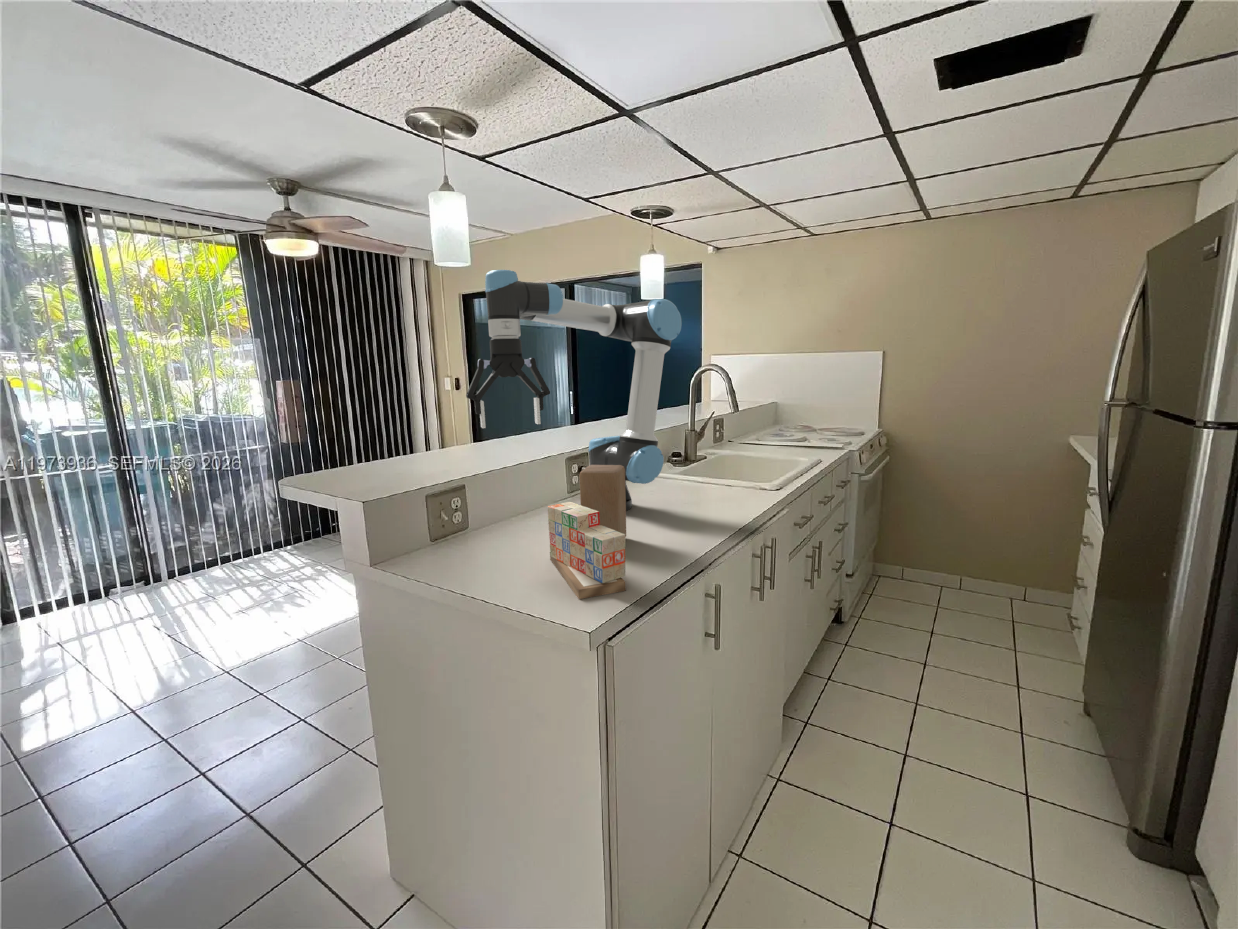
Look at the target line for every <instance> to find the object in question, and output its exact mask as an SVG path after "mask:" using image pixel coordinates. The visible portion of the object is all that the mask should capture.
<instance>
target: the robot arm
mask: <svg viewBox="0 0 1238 929" xmlns="http://www.w3.org/2000/svg"><path fill="white" fill-rule="evenodd" d="M484 281H485V290H484V292H485V297H486V309H487V320H488V321H487V322H488V323H487V324H488V336H489V338H491V339H489V351H490V352H489V353H490V358H489V360H487V359H483V358H479V359H478V360H477V364H476V365H477V367H476V371H475V373H474V375H473V378H472V380H471V383H470V385H469V387H468V390H467V392H466V394H465V398H467V399H470V400H473V401H474V411H475V414H476V415H479V418H480V428H481V429H486V425H487V424H486V415H485V414H486V413H485V402H484V400H482V398H483V397H484V396H485V394H486V392H487V391H488V390H489V388H490V387H491V386H492V385H493V383H494V382H495V380H497V379H498V377H500V378H507V377H509V378H515V377H518V378H520V380H521V381H522V382H523V383H524V384H525V385H526V387H528V388H529V389H530V391H531V392H532V393H533V394H534V395H535V396H536V397H533V409H534V423H535V424H536V425H541V411H544V397H546V396H547V395H548V396H549V395H551V391H550V389H549V387H548V385H547V383H546V381H545V379H544V378H543V376H542V374H541V372H540V371H539V369H538V367H537V362H536V358H534V357H529V358H527V359H526V358H524V357H523V351H522V350H523V347H522V340H521V339H520V337H521V335H522V334H521V332H522V331H521V321H520V320H524V321H531V322H538V323H542V324H543V323H544V324H549V325H555V326H561V327H567V328H573V329H579V330H585V331H592V332H597V333H599V335H600V336H603V337H606V338H607V337H608V338H612V339H617V340H621V341H625V342H631V346H632V347H633V349H634V350H635V353H634V360H633V361H634V362H633V370H632V376H631V377H632V378H631V384H630V391H629V392H630V393H629V402H628V410H627V416H626V426H625V431H624V432H622V433H621V434H619V435H614V436H613V435H612V436H603V437H596V438H592V439H590V440H589V443H588V459H589V460H588V462H589V465H622V466H624V468H625V495H626V511H628V510H630V509H632V507H633V500H632V496H631V494H630V490H629V488H628V485H627V482H630V483H632V484H640V485H641V484H642V485H645V484H650V483H652V482H653V481H654V480H656V478H658V477H659V476H660V474H661V472H662V470H663V466H664V460H665V459H664V454H662V453H663V452H662V450H661V449H660V448H659V447H658V444H659V439H658V438H657V436H656V435H655V429H656V428H655V427H656V421H657V415H658V414H657V412H658V406H659V405H658V404H659V399H660V390H661V385H662V384H661V381H662V375H663V369H664V368H663V366H664V359H665V354H666V353H667V352H669V351H670V349H671V345H672V341H673V340H674V339H677V337H678V336H679V335H680V332H681V331H682V325H683V324H682V315H681V313H680V311H679V310H678V307H677V306H676V305H675V304H674V303H673V302H672V301H671V300H669V299H665V298H659V299H658V298H654V299H651V300H645V301H639V302H632V303H631V302H630V303H626V304H611V303H605V304H603V305H598V304H597V305H596V304H593V303H587V302H582V301H578V300H573V299H567V298H564V296H563V291H562V289H561V288H560V286H559V285H558V284H556V283H549V282H534V281H532V282H531V281H522V280H519V277H518V274H517V272H516V271H515V270H510V269H494V270H493V269H492V270H489V271H488V272H486V274H485V280H484ZM524 365H526V367H527V368H529V369H530V371H531V373H532V375H533V377H534V379H535V380H536V382H537V384H538V386H539V388H540V389H539V388H538V386H537V385H536V384H534V383H533V381H532V380H531V379H530V378H529V377H528V376H527V375H526V373H525V372H524V371H523V370H522V369H523V367H524ZM488 366H490V368H491V369H492V372H491V373H490V375H489V376H488V378H487V379H486V380H485V381H484V383H483V384H482V386H481V387H480V388H479V389H478V391H477V392H476V394H475V391H476V390H477V388H478V384H479V382H480V380H481V378H482V375H483V374H484V370H485V369H487V367H488ZM589 465H588V466H589Z"/></svg>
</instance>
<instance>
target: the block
mask: <svg viewBox="0 0 1238 929" xmlns="http://www.w3.org/2000/svg"><path fill="white" fill-rule="evenodd" d="M578 475H579V495H580V498H579V499H580V505H581V506H584V507H587V508H590V509H593V510H596V511H599V514H600V525H602V526H605V527H607V528H610V529H613V530H615V531H618V532H620V533H623V534H625V539H626V537H627V510H626V495H625V468H624V466H622V465H588V466H586V467H585V468H584V469H582V470H581V471H580V472H579V474H578Z"/></svg>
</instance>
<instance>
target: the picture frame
mask: <svg viewBox="0 0 1238 929" xmlns="http://www.w3.org/2000/svg"><path fill="white" fill-rule="evenodd" d="M549 560H550V561H551V563H552V565H554V567H555V568H556V569H557V572H558V573H559V574H560V575H561V577H562V578H563V580H564V581H565V583H566V584H567V585H568V586H569V588H570V589H571V590H572V592H573V593H574V595H575V596H576V598H577V599H578V600H583V599H587V598H593V597H599V596H605V595H609V594H614V593H616V594H617V593H621V592H626V591H627V590H626V588H627V587H626V581H625V580H624V579H623V577H621V578H618V579H614V580H611V581H608V582H605V583H601V582H599V581H597V580H595V579H593V578H591V577H589V576H588V575H586V574H584V573H582V572H580V571H579V570H576V569H574V568H572V567H570V566H568V565H566V564H564V563H562V562H560V561H558V560H557V559H555V558H553V557H551V554H550V553H549Z"/></svg>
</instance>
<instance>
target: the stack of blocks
mask: <svg viewBox="0 0 1238 929" xmlns="http://www.w3.org/2000/svg"><path fill="white" fill-rule="evenodd" d="M547 517H548V521H547V522H548V523H547V525H548V533H549V535H548V536H549V551H550V552H549V555H550V554H551V557H553V558H555V559H557V560H558V561H560V562H562V563H564V564H566V565H568V566H570V567H572V568H574V569H576V570H579V571H580V572H582V573H584V574H586V575H588V576H589V577H591V578H593V579H595V580H597V581H599V582H601V583H605V582H608V581H611V580H614V579H618V578H623V577H626V548H627V547H626V538H625V534H623V533H620V532H618V531H615V530H613V529H610V528H607V527H605V526H602V525H600V514H599V511H596V510H593V509H590V508H587V507H584V506H581V504H578V503H576V502H572V501H566V502H561V503H557V504H553V505H548V506H547Z"/></svg>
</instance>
